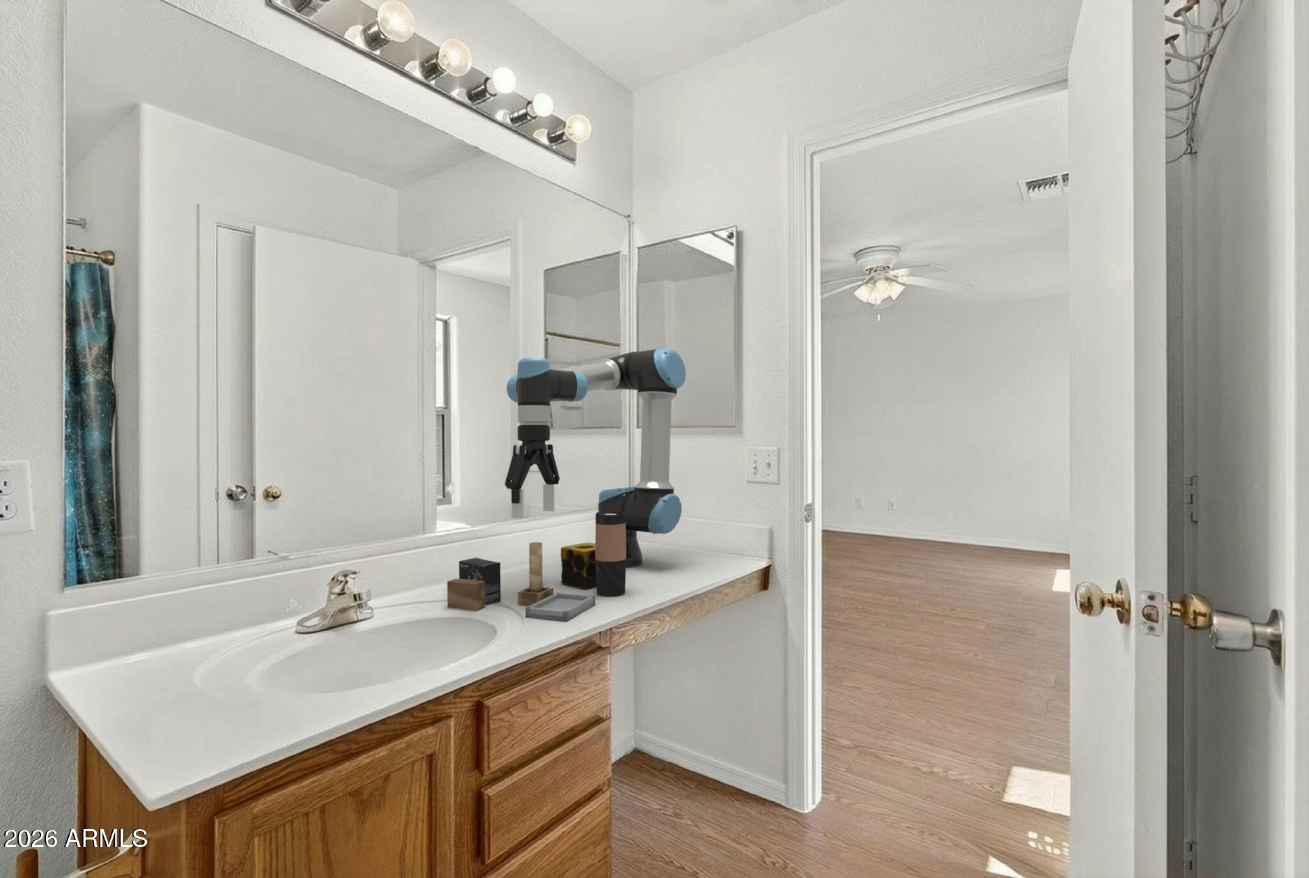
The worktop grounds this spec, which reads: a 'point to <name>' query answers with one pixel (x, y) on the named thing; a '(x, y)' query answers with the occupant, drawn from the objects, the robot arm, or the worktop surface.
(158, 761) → the worktop surface
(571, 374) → the robot arm
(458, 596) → the wooden block
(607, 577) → the travel mug
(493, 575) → the box
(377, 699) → the worktop surface
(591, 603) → the tray
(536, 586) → the dowel
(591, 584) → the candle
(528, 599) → the socket
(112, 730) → the worktop surface
